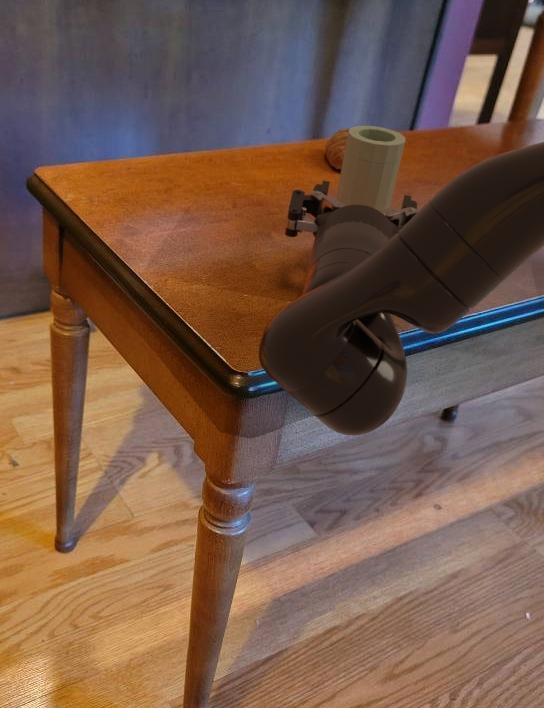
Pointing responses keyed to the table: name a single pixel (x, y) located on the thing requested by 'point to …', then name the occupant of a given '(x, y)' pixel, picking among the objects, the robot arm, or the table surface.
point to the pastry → (337, 148)
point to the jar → (370, 166)
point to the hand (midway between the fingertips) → (364, 196)
